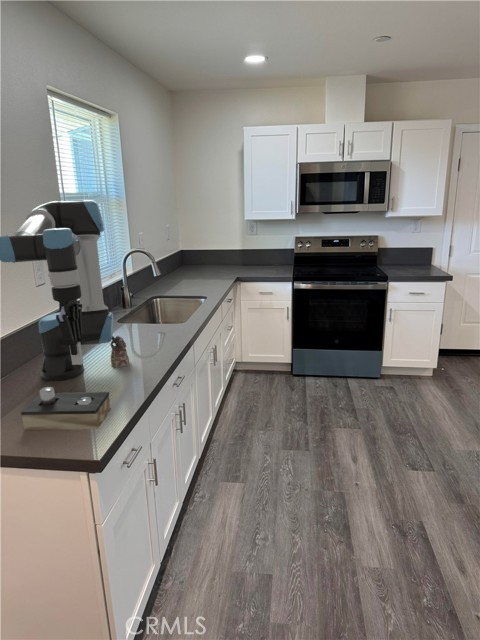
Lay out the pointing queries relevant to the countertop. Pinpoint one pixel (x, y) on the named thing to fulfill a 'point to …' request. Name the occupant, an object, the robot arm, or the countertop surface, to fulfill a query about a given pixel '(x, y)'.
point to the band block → (67, 412)
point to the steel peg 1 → (47, 396)
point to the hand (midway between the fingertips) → (77, 363)
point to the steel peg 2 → (84, 401)
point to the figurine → (119, 352)
